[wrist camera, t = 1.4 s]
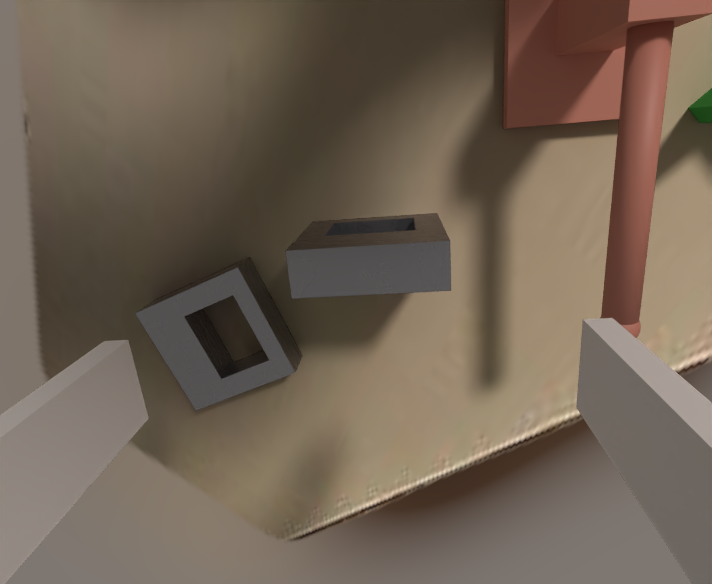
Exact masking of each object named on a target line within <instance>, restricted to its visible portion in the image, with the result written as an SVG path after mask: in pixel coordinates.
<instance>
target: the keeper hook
mask: <svg viewBox="0 0 712 584" xmlns="http://www.w3.org/2000/svg"><path fill="white" fill-rule="evenodd" d="M709 14H712V0H505V50H504V111H503V129H504V128H518V127H529V126H541V125H553V124H564V123H576V122H588V121H599V120H611V119H619V125H618V136H617V147H616V158H615V169H614V180H613V192H612V203H611V214H610V225H609V236H608V247H607V258H606V269H605V280H604V291H603V302H602V313H601V317H600V318H613V319H614V320H615V321H617V322H618V323H619V324H620V325H621V326H622V327H624V328H625V329H626V330H627V331H628V332H629V333H631V334H632V335H633V336H634V337H635V338H637V337H638V335H639V333H640V328H641V325H640V321H639V316H640V308H641V299H642V291H643V282H644V274H645V266H646V257H647V249H648V240H649V232H650V223H651V215H652V206H653V198H654V189H655V181H656V173H657V164H658V156H659V147H660V139H661V130H662V122H663V113H664V105H665V96H666V88H667V79H668V71H669V63H670V54H671V46H672V37H673V29H674V28H675V27H678V26H680V25H683V24H686V23H688V22H691V21H694V20H696V19H699V18H701V17H704V16H707V15H709Z"/></svg>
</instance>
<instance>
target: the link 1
mask: <svg viewBox="0 0 712 584" xmlns="http://www.w3.org/2000/svg"><path fill="white" fill-rule="evenodd" d="M232 295H233V296H234V298H235V300H236V301H237V303H238V305H239V307H240V308H241V310H242V312H243V314H244V316H245V317H246V319H247V321H248V323H249V325H250V326H251V328H252V330H253V332H254V333H255V335H256V337H257V339H258V341H259V342H260V344H261V346H262V348H263V351H260V352H258V353H255V354H253V355H250V356H248V357H245V358H243V359H240V360H238V361H235V362H233V360H232V359H231V357H230V355H229V353H228V352H227V350H226V348H225V347H224V345H223V343H222V341H221V340H220V338H219V336H218V335H217V333H216V331H215V329H214V328H213V326H212V324H211V323H210V321H209V319H208V317H207V316H206V314H205V312H204V311H203V308H205V307H207V306H209V305H212V304H214V303H216V302H219V301H221V300H223V299H226V298H228V297H230V296H232ZM135 314H136V316H137V318H138V319H139V321H140V322H141V324H142V325H143V327H144V329H145V330H146V332H147V333H148V335H149V337H150V338H151V340H152V341H153V343H154V345H155V346H156V348H157V349H158V351H159V352H160V354H161V356H162V357H163V359H164V360H165V362H166V364H167V365H168V367H169V368H170V370H171V372H172V373H173V375H174V376H175V378H176V379H177V381H178V383H179V384H180V386H181V387H182V389H183V391H184V392H185V394H186V395H187V397H188V399H189V400H190V402H191V403H192V405H193V406H194V408H195V410H199V409H201V408H204V407H207V406H209V405H212V404H214V403H217V402H220V401H222V400H225V399H228V398H230V397H233V396H235V395H238V394H241V393H243V392H246V391H249V390H251V389H254V388H256V387H259V386H262V385H264V384H267V383H270V382H272V381H275V380H277V379H280V378H283V377H285V376H288V375H291V374H293V373H295V372H296V370H297V368H298V365H299V363H300V361H301V358H302V354H301V352H300V350H299V348H298V347H297V345H296V343H295V341H294V339H293V337H292V335H291V333H290V332H289V330H288V328H287V326H286V324H285V322H284V320H283V319H282V317H281V315H280V313H279V311H278V309H277V307H276V305H275V304H274V302H273V300H272V298H271V296H270V294H269V292H268V290H267V289H266V287H265V285H264V283H263V281H262V279H261V277H260V276H259V274H258V272H257V270H256V268H255V266H254V264H253V262H252V261H251V259H250V257H249V258H247V259H245V260H243V261H240V262H238V263H236V264H234V265H231V266H229V267H227V268H225V269H223V270H220V271H218V272H216V273H214V274H211V275H209V276H207V277H205V278H203V279H200V280H198V281H196V282H194V283H191V284H189V285H187V286H185V287H183V288H180V289H178V290H176V291H174V292H171V293H169V294H167V295H165V296H163V297H160V298H158V299H156V300H154V301H152V302H151V303H149V304H148V305H146V306H145V307H144V308H142V309H141V310H139V311H138V312H136V313H135Z"/></svg>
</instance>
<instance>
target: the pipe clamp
mask: <svg viewBox="0 0 712 584" xmlns="http://www.w3.org/2000/svg"><path fill="white" fill-rule="evenodd" d="M688 109H689V110H690V111H691V112H692V114H693V115H694V116H695V118H696V119H697V120H698V121H699V123H710V122H712V88H711V89H710V90H709V91H708V92H707V93H705V94H704V95H703V96H702V97H701V98H700V99H698V100H697V101H696V102H695V103H694V104H692V105H691V106H690V107H689V108H688Z"/></svg>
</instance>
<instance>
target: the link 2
mask: <svg viewBox="0 0 712 584" xmlns="http://www.w3.org/2000/svg"><path fill="white" fill-rule="evenodd" d="M285 252H286V259H287V267H288V274H289V282H290V289H291V297H292V299H294V298H314V297H334V296H354V295H374V294H394V293H414V292H434V291H451V260H450V239H449V237H448V235H447V233H446V231H445V229H444V227H443V225H442V222H441V220H440V218H439V216H438V214H437V213H430V214H416V215H401V216H386V217H372V218H357V219H342V220H328V221H313V222H312V223H311V224H310V225H309V226H308V228H307V229H306V230H305V231H304V232H303V233H302V234H301V235H300V236H299V237H298V238H297V239H296V240H295V241H294V242H293V243H292V244H291V245H290V246H289V248H288V249H287V250H286V251H285Z"/></svg>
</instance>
